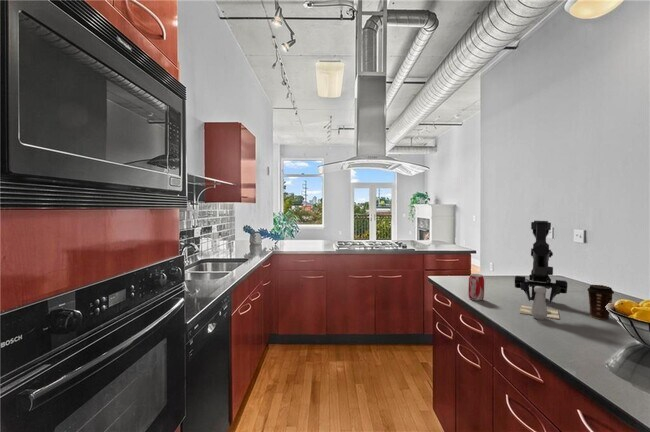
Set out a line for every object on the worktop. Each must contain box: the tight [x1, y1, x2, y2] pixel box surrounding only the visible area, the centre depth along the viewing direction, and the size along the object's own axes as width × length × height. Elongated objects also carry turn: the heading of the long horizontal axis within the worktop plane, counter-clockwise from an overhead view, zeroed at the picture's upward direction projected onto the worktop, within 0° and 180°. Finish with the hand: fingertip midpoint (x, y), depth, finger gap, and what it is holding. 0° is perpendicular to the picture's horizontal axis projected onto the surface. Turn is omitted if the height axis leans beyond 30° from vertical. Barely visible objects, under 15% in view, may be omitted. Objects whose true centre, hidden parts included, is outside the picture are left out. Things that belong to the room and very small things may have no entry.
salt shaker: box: [531, 286, 548, 321], centre depth 144 cm, size 6×6×13 cm
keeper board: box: [519, 304, 560, 320], centre depth 152 cm, size 14×14×1 cm
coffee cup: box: [587, 284, 615, 320], centre depth 146 cm, size 9×8×13 cm
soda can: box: [467, 273, 485, 302], centre depth 171 cm, size 7×7×12 cm
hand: (539, 301), depth 143 cm, fingers open, 7 cm apart
